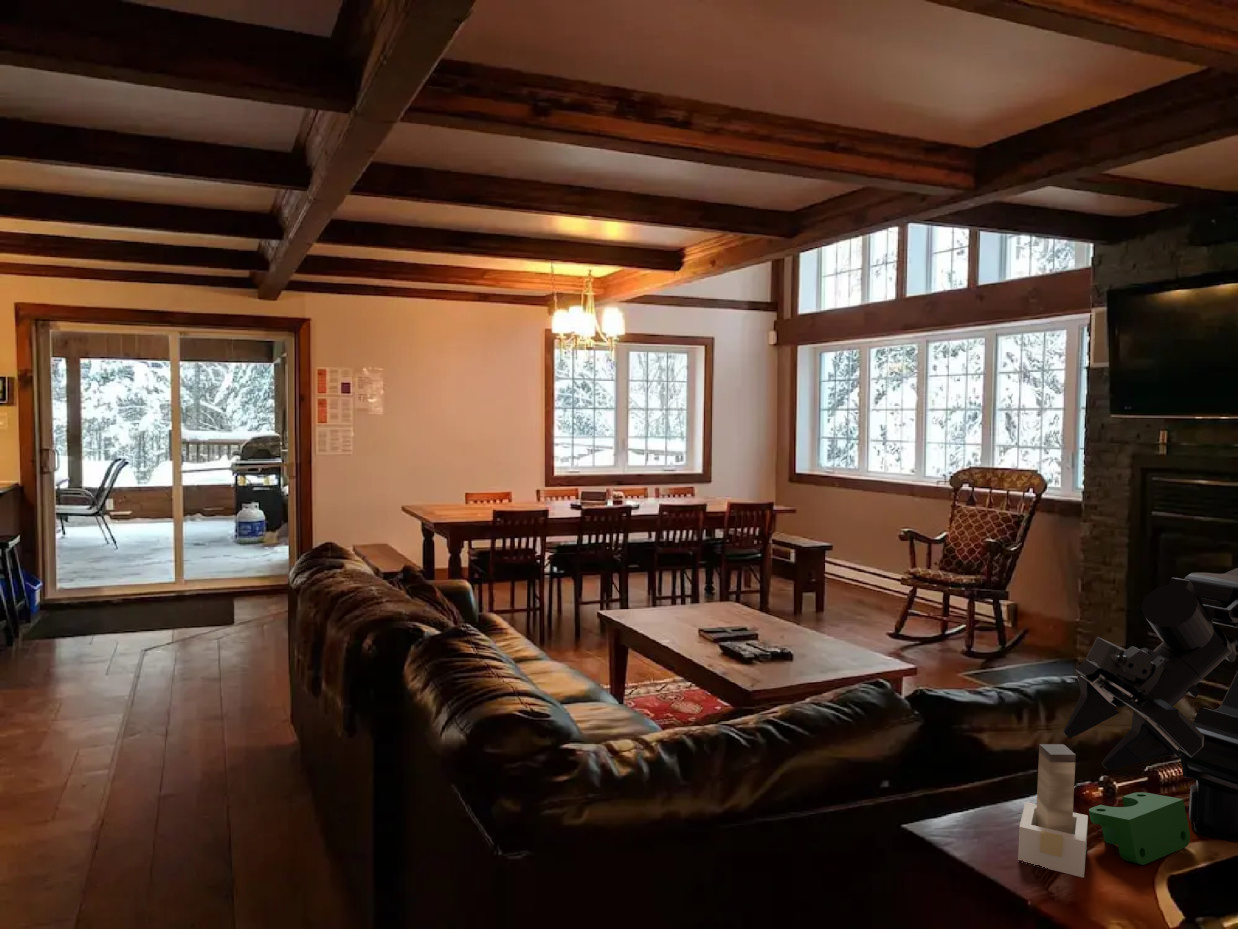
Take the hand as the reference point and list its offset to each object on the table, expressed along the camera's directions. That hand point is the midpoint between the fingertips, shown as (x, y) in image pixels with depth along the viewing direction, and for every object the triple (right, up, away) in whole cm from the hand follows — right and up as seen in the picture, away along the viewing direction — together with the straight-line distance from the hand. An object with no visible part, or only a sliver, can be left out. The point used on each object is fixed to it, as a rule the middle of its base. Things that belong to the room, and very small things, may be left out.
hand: (1084, 750), depth 108 cm
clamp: (+8, -14, +3) cm, 16 cm away
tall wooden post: (-3, -13, +1) cm, 13 cm away
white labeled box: (-3, -13, +1) cm, 14 cm away
